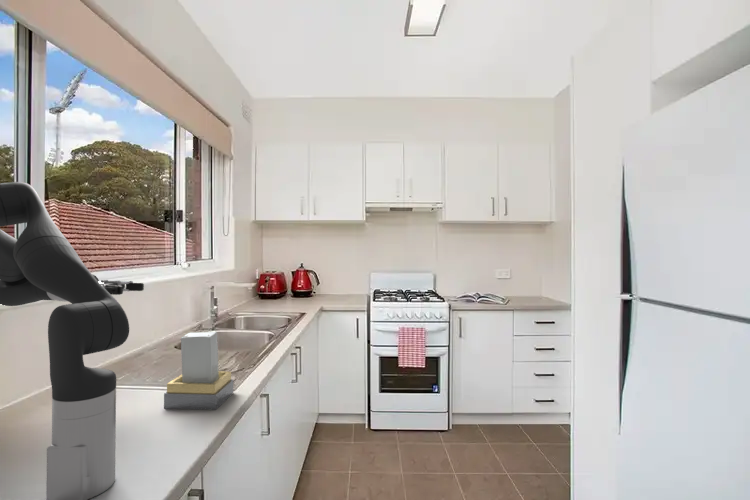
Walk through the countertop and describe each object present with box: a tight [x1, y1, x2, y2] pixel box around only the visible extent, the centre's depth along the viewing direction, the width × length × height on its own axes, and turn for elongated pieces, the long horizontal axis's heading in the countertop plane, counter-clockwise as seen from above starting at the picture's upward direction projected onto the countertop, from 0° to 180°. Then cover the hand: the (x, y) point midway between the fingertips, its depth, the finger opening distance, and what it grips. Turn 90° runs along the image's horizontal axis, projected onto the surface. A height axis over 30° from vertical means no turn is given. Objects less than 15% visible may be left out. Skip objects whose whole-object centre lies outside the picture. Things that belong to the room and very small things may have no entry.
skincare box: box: [180, 331, 219, 383], centre depth 110 cm, size 8×6×15 cm
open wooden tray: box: [163, 370, 234, 411], centre depth 111 cm, size 15×14×6 cm
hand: (132, 288), depth 104 cm, fingers open, 8 cm apart
